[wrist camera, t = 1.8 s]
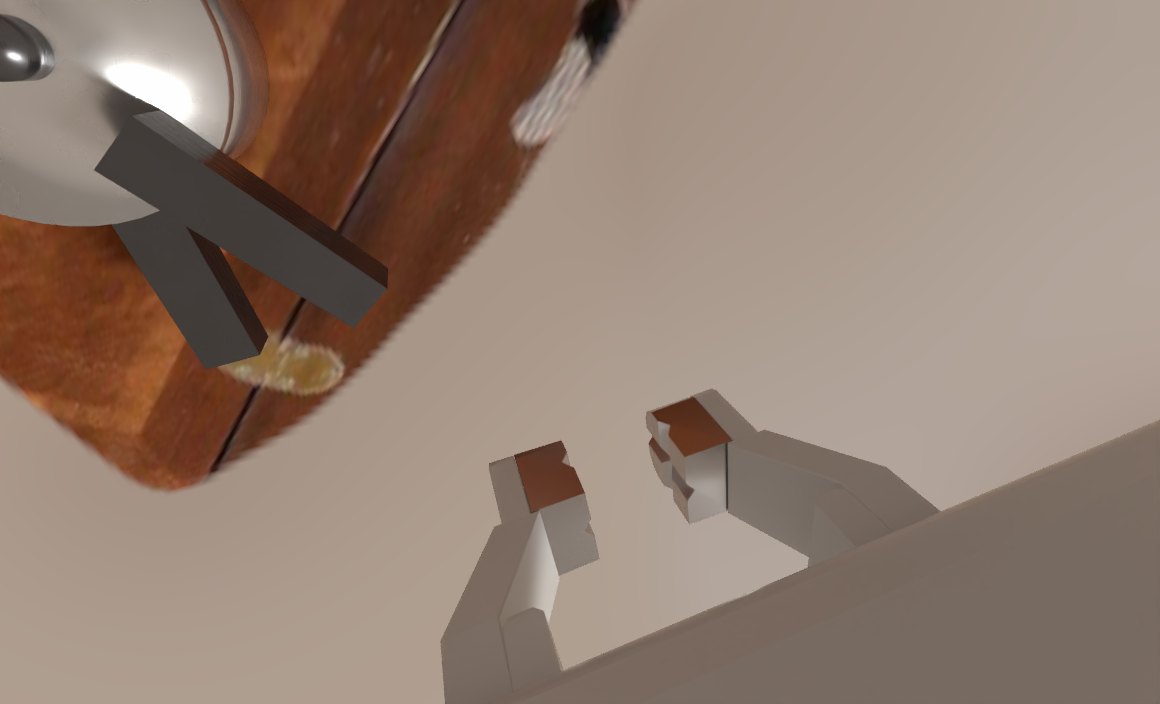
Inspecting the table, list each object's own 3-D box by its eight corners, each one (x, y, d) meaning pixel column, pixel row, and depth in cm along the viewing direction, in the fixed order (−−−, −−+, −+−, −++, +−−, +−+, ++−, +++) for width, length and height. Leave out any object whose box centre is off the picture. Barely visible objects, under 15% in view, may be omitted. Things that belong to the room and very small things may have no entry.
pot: (-178, -177, 20) (-465, -298, 13) (158, -206, 22) (57, -323, 15) (163, 330, 32) (101, 400, 25) (360, 279, 34) (352, 331, 27)
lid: (-308, 44, 16) (-477, 38, 13) (-123, -313, 15) (-268, -419, 11) (300, 366, 27) (287, 406, 24) (451, 185, 25) (460, 202, 22)
